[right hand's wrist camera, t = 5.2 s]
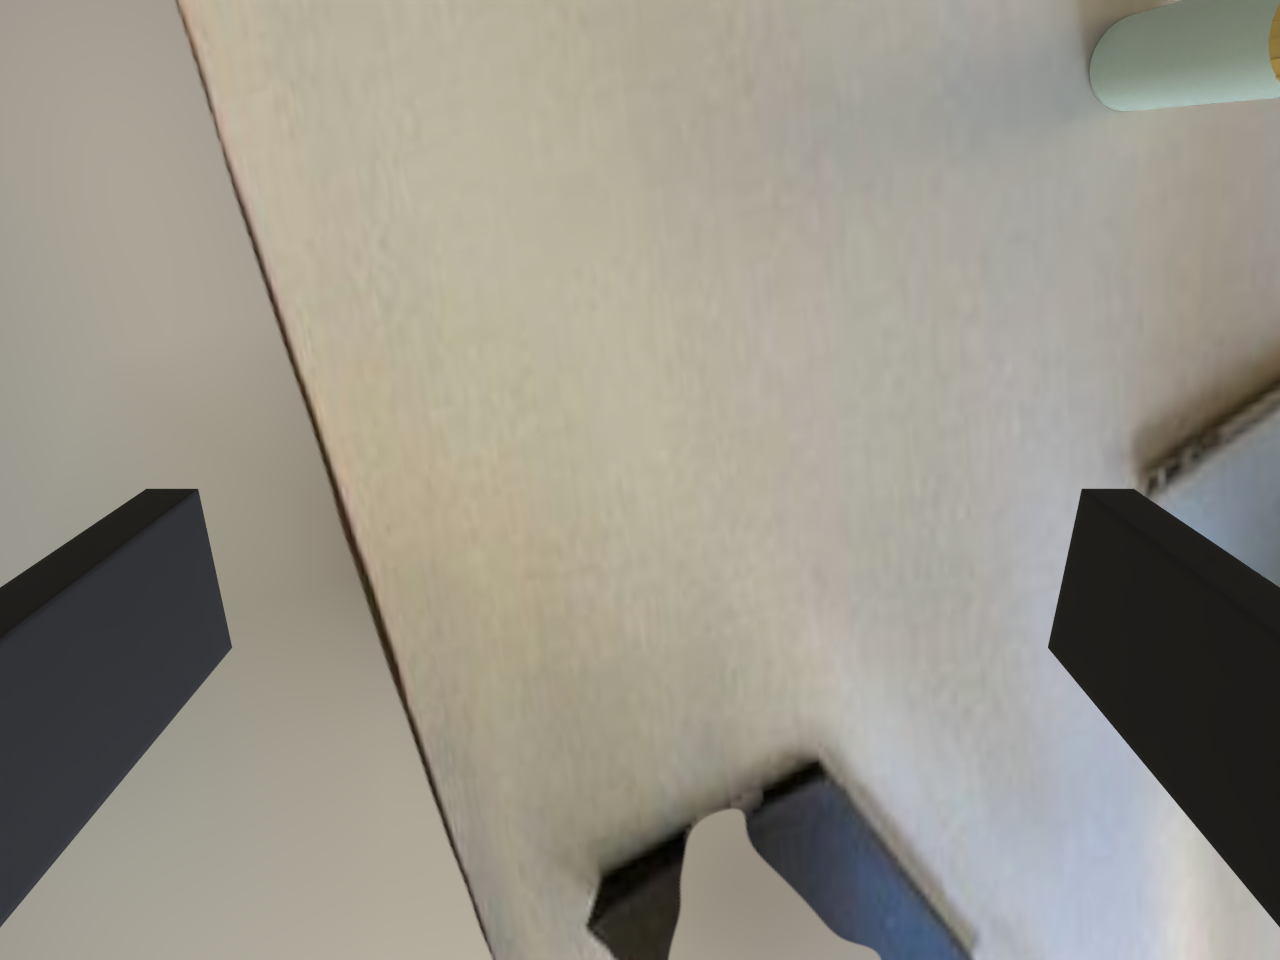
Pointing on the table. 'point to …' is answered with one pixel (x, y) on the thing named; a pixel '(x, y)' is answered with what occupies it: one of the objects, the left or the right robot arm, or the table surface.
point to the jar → (1186, 56)
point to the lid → (1275, 43)
